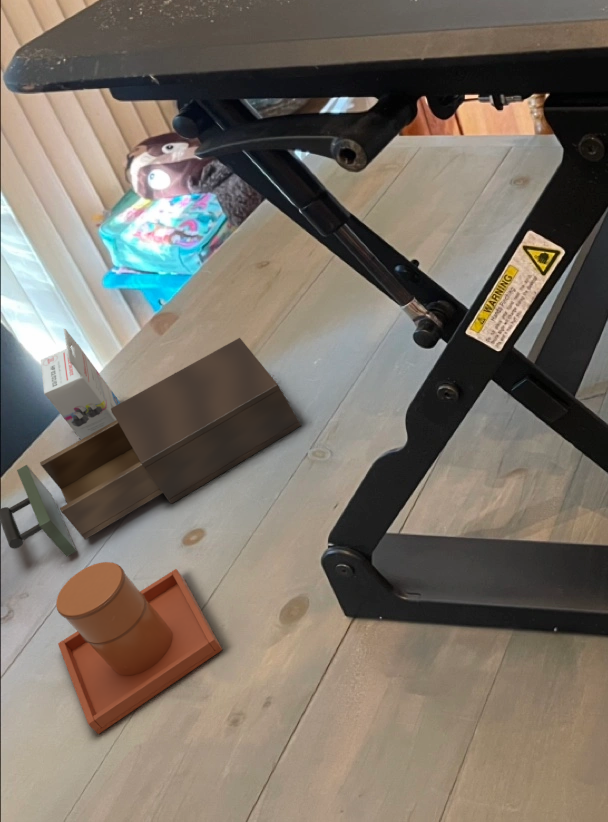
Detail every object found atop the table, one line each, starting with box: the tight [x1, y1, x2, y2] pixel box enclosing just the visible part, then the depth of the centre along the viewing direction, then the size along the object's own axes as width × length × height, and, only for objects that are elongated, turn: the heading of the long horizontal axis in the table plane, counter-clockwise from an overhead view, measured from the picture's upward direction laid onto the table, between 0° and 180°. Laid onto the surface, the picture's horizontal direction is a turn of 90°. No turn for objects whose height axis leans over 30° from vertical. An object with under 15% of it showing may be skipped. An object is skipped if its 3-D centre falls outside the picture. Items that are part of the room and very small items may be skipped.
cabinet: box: [111, 337, 302, 504], centre depth 138 cm, size 18×14×8 cm
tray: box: [57, 568, 223, 735], centre depth 114 cm, size 13×13×2 cm
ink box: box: [40, 328, 121, 440], centre depth 141 cm, size 8×5×15 cm, turn 31°
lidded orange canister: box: [55, 561, 172, 676], centre depth 111 cm, size 7×7×11 cm
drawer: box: [0, 420, 163, 557], centre depth 131 cm, size 21×13×6 cm, turn 130°
